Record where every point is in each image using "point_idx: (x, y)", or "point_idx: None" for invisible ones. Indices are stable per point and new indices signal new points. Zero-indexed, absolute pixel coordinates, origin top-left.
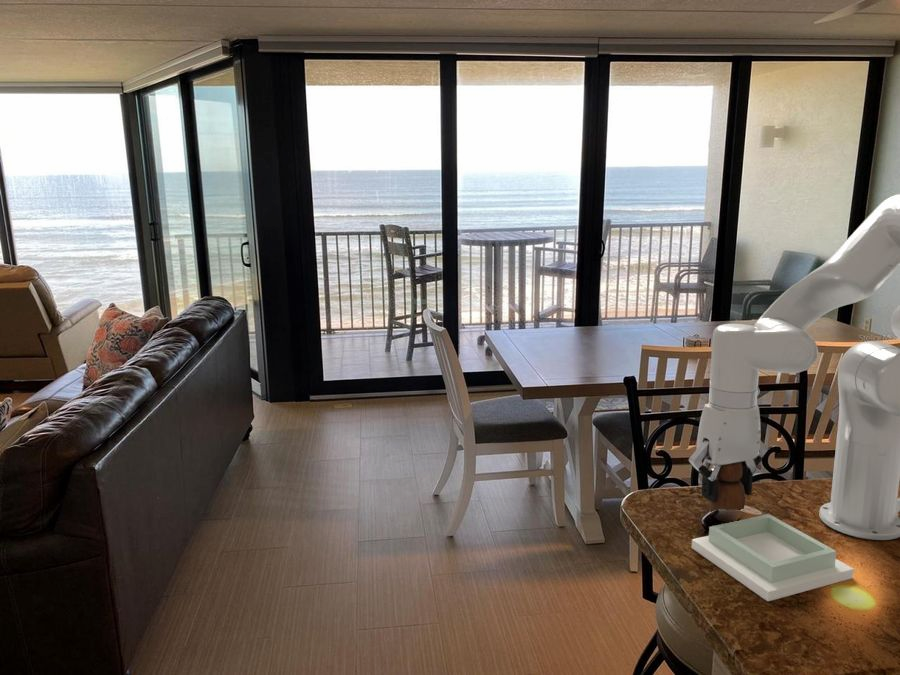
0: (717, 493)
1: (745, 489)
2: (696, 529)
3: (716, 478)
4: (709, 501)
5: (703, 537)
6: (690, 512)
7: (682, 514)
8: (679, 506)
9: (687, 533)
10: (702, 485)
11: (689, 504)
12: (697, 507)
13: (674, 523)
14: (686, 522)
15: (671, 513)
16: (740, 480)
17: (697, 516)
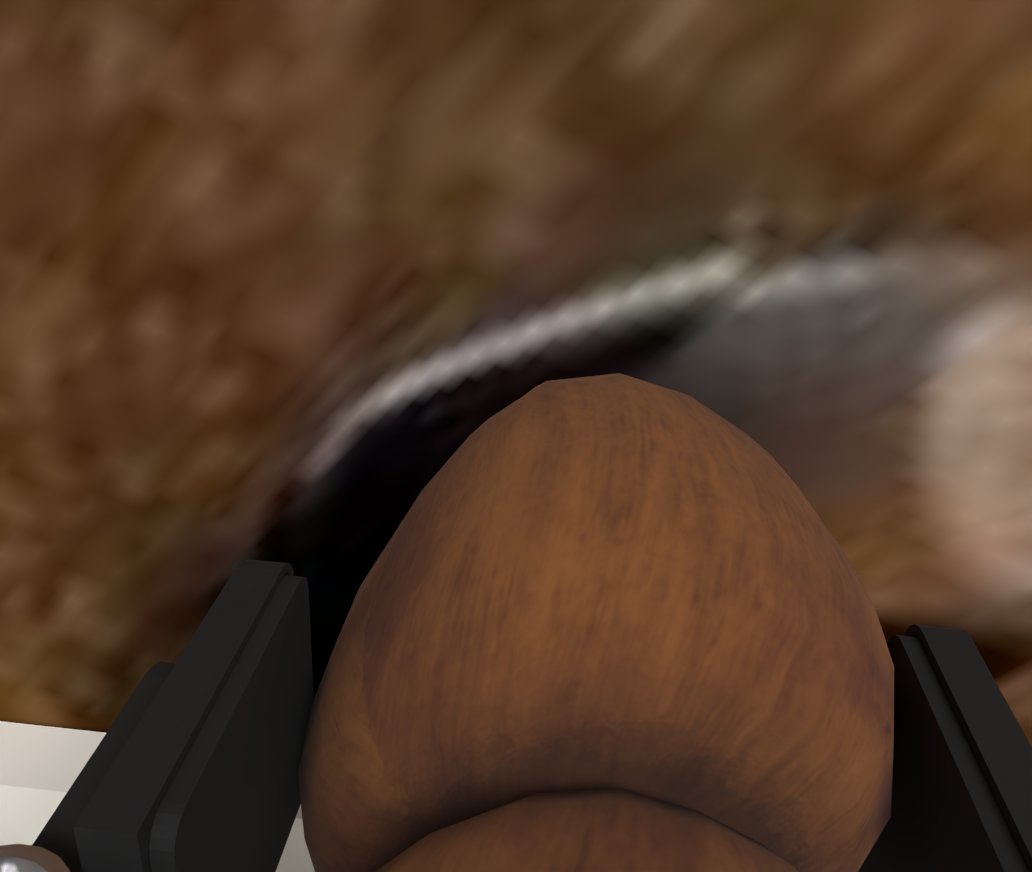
0: (276, 861)
1: None
2: (172, 529)
3: (450, 786)
4: (389, 542)
5: (13, 795)
6: (352, 220)
7: (229, 218)
8: (329, 12)
9: (46, 545)
10: (98, 757)
11: (496, 25)
12: (528, 151)
13: (25, 344)
14: (160, 384)
15: (116, 134)
16: (924, 843)
17: (361, 335)
